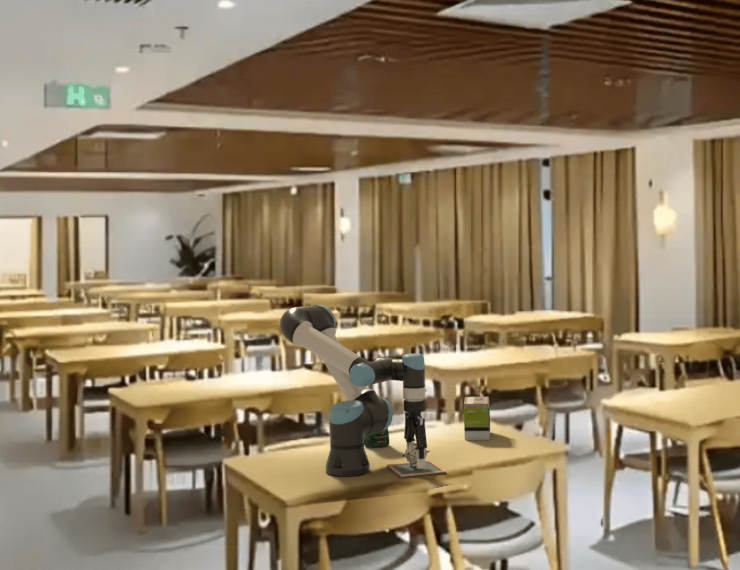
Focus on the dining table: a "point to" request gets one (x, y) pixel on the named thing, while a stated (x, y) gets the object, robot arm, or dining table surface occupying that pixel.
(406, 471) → the mat
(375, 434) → the coffee jar
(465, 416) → the tea box
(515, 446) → the dining table surface
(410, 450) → the game die
